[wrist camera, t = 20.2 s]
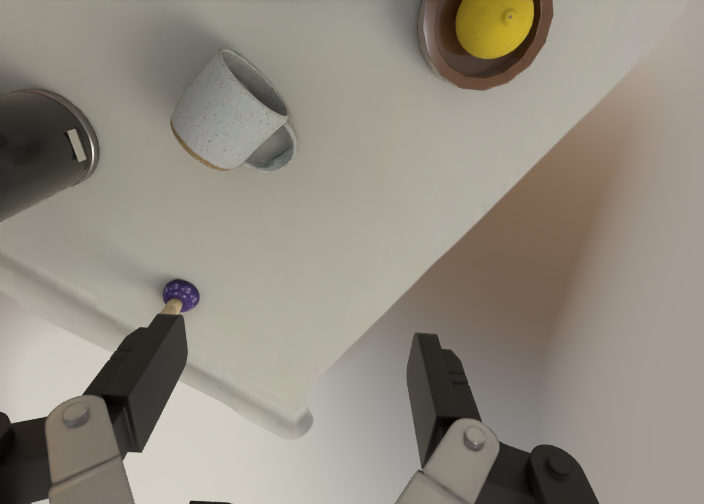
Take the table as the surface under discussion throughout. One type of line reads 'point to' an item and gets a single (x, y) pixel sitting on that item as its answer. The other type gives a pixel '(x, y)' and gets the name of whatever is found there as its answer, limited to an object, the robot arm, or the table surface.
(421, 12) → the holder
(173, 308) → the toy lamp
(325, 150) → the table surface
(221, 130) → the ceramic mug
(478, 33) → the lemon
